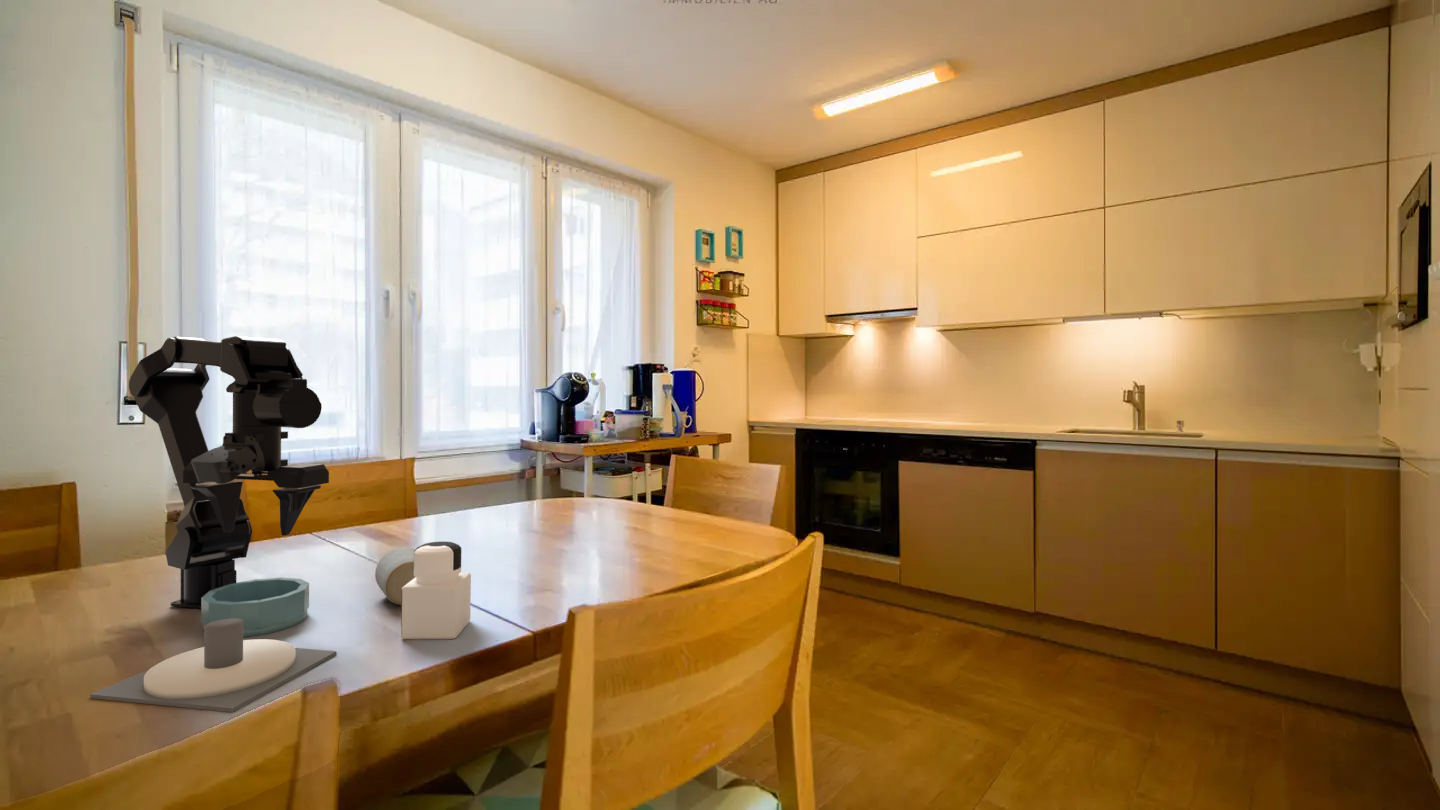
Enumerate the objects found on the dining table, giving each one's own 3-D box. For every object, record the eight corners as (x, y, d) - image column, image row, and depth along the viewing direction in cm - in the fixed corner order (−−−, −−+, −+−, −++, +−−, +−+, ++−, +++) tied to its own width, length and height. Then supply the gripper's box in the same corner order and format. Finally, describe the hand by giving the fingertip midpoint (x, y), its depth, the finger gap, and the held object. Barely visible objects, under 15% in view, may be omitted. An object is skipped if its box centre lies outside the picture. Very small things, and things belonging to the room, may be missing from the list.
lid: (107, 693, 70) (107, 641, 70) (223, 643, 84) (223, 600, 84) (224, 704, 69) (224, 652, 68) (322, 651, 82) (323, 608, 82)
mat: (90, 697, 70) (90, 694, 70) (216, 644, 85) (216, 641, 85) (232, 712, 68) (232, 708, 68) (336, 654, 83) (336, 651, 83)
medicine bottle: (419, 621, 95) (420, 538, 94) (470, 621, 95) (472, 538, 95) (400, 640, 88) (401, 550, 87) (455, 639, 88) (456, 550, 88)
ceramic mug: (384, 612, 98) (386, 561, 98) (374, 597, 105) (375, 549, 105) (458, 600, 105) (459, 552, 104) (444, 587, 111) (445, 542, 111)
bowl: (179, 634, 88) (179, 600, 88) (254, 605, 100) (254, 575, 100) (260, 640, 86) (260, 606, 86) (326, 610, 98) (327, 580, 98)
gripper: (144, 426, 88) (144, 542, 88) (270, 430, 85) (269, 550, 86) (218, 422, 99) (218, 525, 99) (332, 426, 96) (331, 532, 97)
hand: (256, 533), depth 95 cm, fingers open, 9 cm apart
